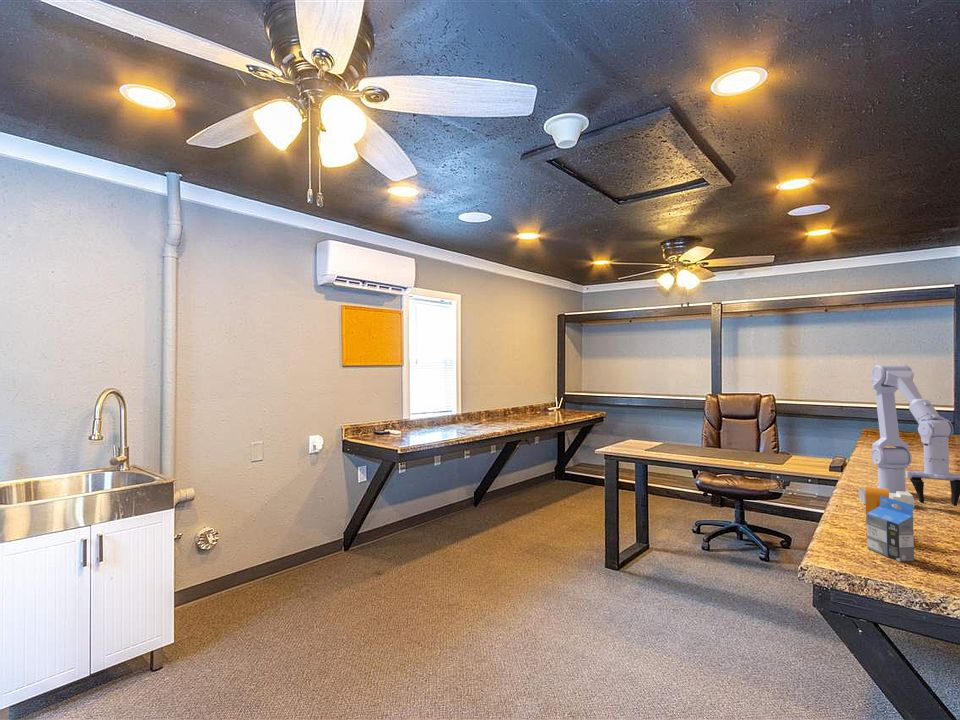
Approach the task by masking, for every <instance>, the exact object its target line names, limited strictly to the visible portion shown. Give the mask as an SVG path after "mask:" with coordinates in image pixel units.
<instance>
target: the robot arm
mask: <svg viewBox="0 0 960 720" xmlns="http://www.w3.org/2000/svg"><path fill="white" fill-rule="evenodd" d="M914 374H915V373H914V371H913V370H912V368H911V366H910V365H908V364H897V365H896V364H895V365H894V364H888V365H887V364H885V365H884V364H883V365H882V364H877V365H875V366H874V367H873V369H872V370H871V371H870V378H871V386H872V387H871V388H872V389H873V390H874V392H875V401H876V412H877V418H878V419H877V420H878V429H879V430H878V431H879V439H877V440H876V441H874V442H873V443H872V445H871V446H872V447H871V455H870V456H871V461H872V462H873V463H874V464H875V466H876V467H878V468H877V469H878V470H877V487H874V488H881V489H889V493H896V491H903V492H907V490H906V489H907V487H906V478H907V479H909V481H910V482H911V484H912V485H913V488H914V489H915V492H916V494H917V497H918V502H919V503H921V504H925V497H924V486H925V482H924V481H923V479H924V480H933V481H934V480H935V481H936V480H938V481H949V484H950V491H951V494H950V495H951V497H950V498H951V499H950V503H951V505H952V506H954V507H955V506H956V507H958V502H959V499H960V473H953V472H951V473H950V458H949V457H950V455H949V454H950V452H949V439H950V438H952V435H953V434H954V427H953V424H952V422H951V421H950V420H949V419H946V418H944V416H941V415H940V414H939V412H938V411H937V410H936V408H935V407H934V406H933V404H932V402H931V401H930V400H928V399H924V398H923V396H922V394H921V392H920V391H919V389H918V388H917V386H916V383H915V382H914V376H915V375H914ZM897 390H899V391H900V393H901V394H902V395H903V397H904V398H906V401H908V403H910V404H909V406H908V409H909V411H910V413H911V414H912V416H913V418H914V419H915V421H916V422H917V424H918V427H917V431H918V435H919V436H920V441H921V443H922V444H923V469H924V470H923V471H920V470H919V471H918V470H915V471H913V470H912V471H911V470H906V469H908V466H910V465H911V463H912V460H913V457H912V456H913V455H912V453H911V452H910V449H909V444H908V443H906V442H905V441H904V440H902V439H901V438H900V429H899V421H898V414H897V405H896V397H895V393H897Z"/></svg>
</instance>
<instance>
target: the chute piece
mask: <svg viewBox="0 0 960 720" xmlns="http://www.w3.org/2000/svg"><path fill="white" fill-rule="evenodd" d="M889 498H890V499H894V500H897V501H901V502H904V503H908V504H912V505H913V509H915V498H914V495H913V494H911V493H910V492H909V491H906V492H903V491H896V493H889ZM892 505H893V504H892ZM893 506H894V507H895V508H901V507H900V506H897V504H895V505H893Z"/></svg>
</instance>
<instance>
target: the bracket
mask: <svg viewBox="0 0 960 720" xmlns="http://www.w3.org/2000/svg"><path fill="white" fill-rule="evenodd" d="M865 491H866V505H865V515H866V514H867V513H868V512H870V511H872V510H874V509H876V508H878V507H879V506H880V496H883V497H887V498H889V489H881V488H878V487H877V488H875V487H870V486H869V487H868V486H865ZM865 526H866V528H865V529H866V535H867V523H866V522H865Z"/></svg>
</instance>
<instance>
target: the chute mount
mask: <svg viewBox="0 0 960 720" xmlns="http://www.w3.org/2000/svg"><path fill="white" fill-rule="evenodd" d="M858 499H859V500H860V501H862V502H863V503H864V504H865V505H864V504H863V503H862V502H861V503H862V504H863V505H864V506H866V489H865V488H863V487H858ZM891 506H892V507H893V505H892V504H891Z"/></svg>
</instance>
